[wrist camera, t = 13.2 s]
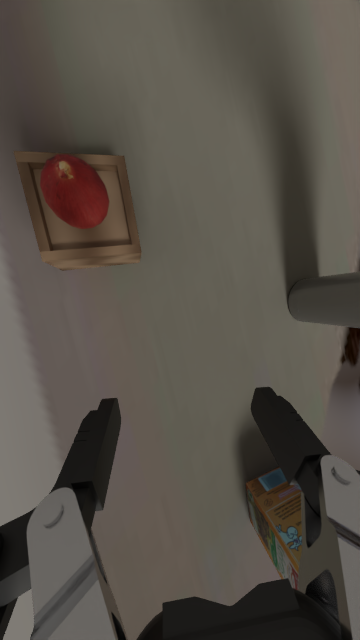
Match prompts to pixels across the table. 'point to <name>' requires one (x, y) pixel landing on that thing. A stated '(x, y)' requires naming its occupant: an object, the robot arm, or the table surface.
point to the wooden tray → (74, 243)
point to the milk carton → (277, 520)
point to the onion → (74, 191)
